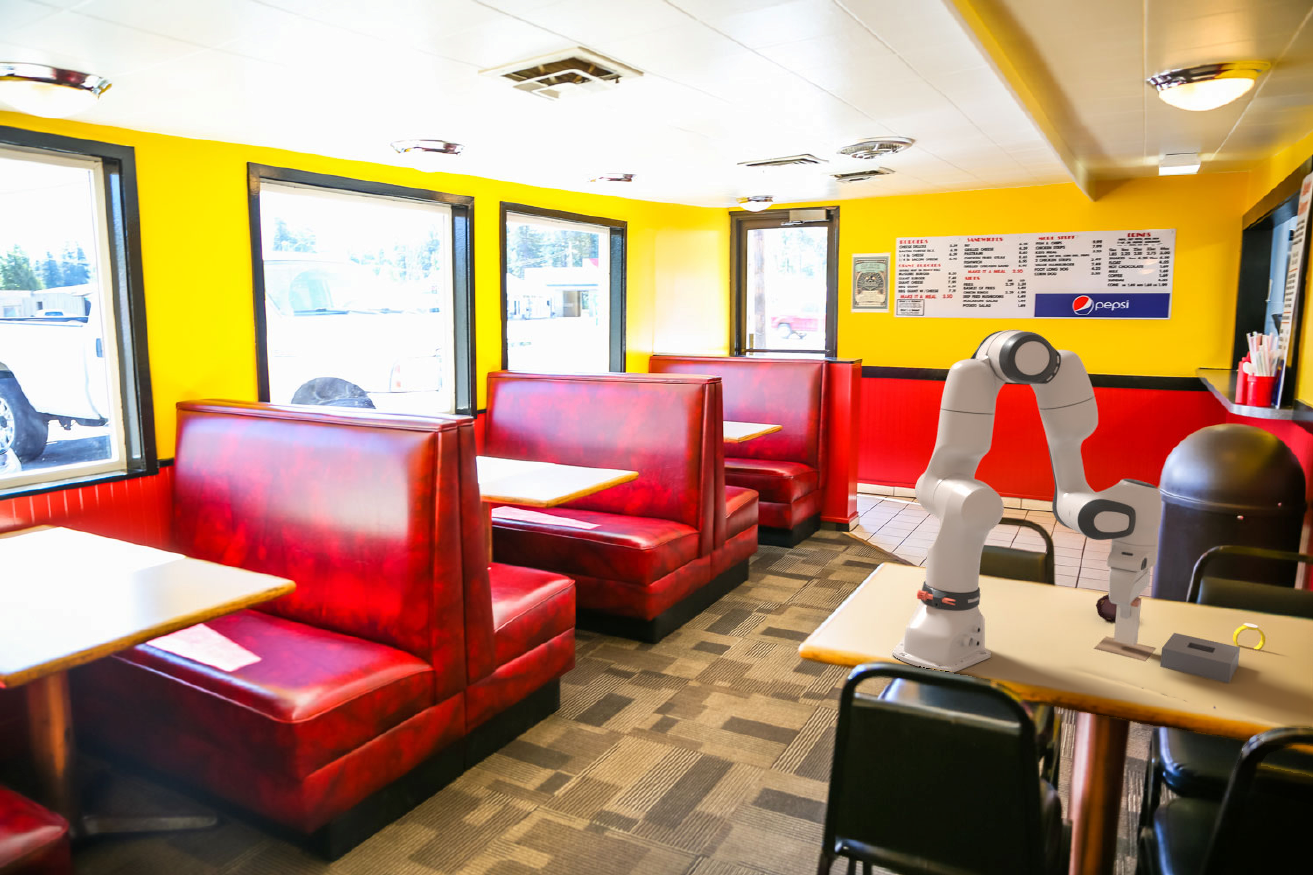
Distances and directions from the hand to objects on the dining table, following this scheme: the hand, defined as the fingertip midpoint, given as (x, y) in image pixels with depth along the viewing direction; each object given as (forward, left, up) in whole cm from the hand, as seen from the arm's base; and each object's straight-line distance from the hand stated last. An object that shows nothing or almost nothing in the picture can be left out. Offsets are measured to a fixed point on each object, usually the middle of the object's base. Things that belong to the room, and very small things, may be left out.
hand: (1127, 615), depth 184 cm
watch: (+21, -20, -9) cm, 30 cm away
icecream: (+21, +7, -9) cm, 24 cm away
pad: (0, 0, -9) cm, 9 cm away
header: (0, -14, -9) cm, 16 cm away
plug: (0, 0, -6) cm, 6 cm away
